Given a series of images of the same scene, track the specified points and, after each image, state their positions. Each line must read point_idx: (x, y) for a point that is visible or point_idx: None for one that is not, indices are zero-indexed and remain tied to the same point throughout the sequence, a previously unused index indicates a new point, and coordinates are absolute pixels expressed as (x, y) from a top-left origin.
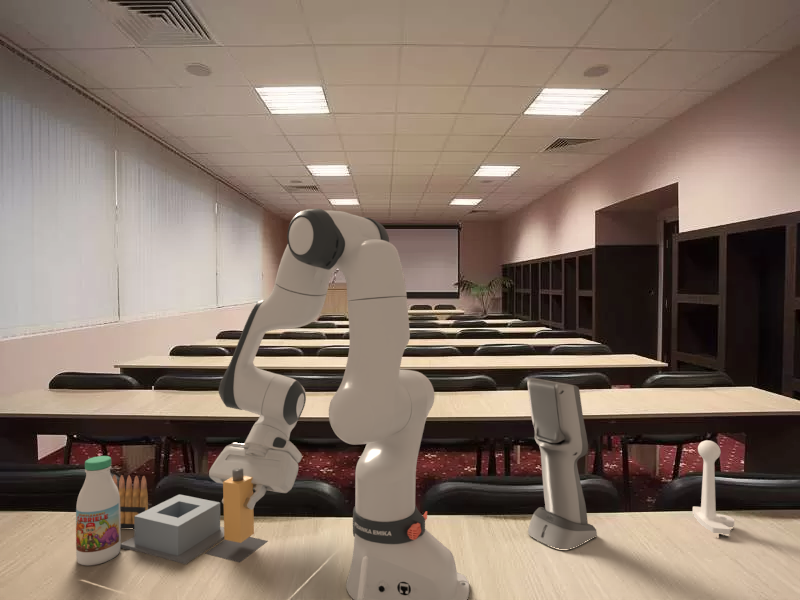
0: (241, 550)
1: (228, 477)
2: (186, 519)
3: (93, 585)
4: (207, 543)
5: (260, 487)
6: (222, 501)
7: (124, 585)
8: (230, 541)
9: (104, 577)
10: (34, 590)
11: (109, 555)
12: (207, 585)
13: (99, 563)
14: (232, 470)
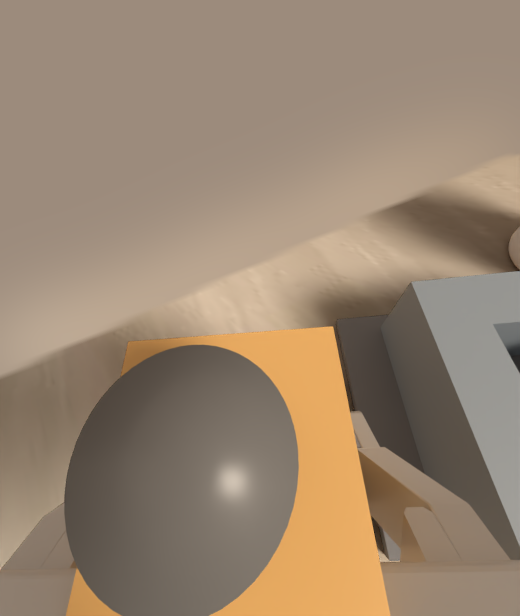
0: None
1: (506, 572)
2: (445, 328)
3: (422, 212)
4: (375, 414)
5: (22, 552)
6: (354, 412)
7: (374, 234)
8: None
9: (437, 230)
10: (488, 170)
11: (517, 249)
12: (231, 298)
13: (509, 242)
14: (267, 379)
